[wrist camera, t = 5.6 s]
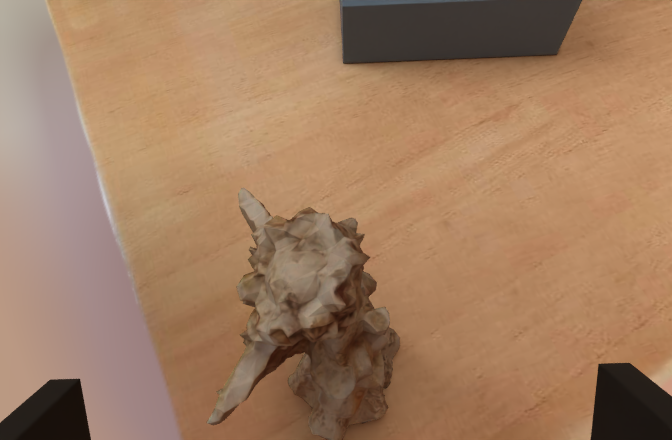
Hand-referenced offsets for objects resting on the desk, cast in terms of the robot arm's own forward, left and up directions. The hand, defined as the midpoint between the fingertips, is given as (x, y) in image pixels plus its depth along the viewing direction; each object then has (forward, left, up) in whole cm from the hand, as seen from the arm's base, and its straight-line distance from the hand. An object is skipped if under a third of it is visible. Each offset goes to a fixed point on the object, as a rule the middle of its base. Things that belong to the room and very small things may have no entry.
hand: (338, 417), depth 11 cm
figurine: (0, +3, -11) cm, 12 cm away
